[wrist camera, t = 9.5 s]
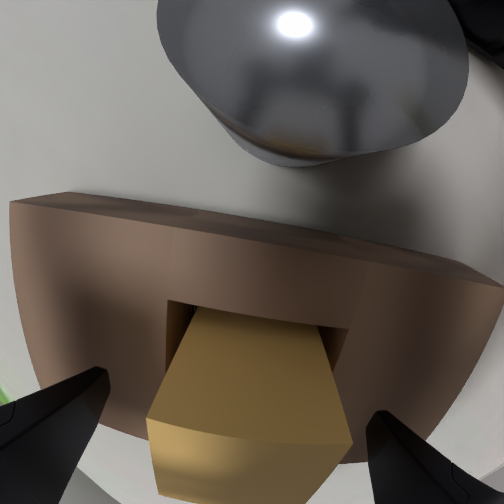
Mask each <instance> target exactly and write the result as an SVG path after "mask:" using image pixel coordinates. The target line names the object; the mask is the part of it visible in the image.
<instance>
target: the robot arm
mask: <svg viewBox="0 0 504 504" xmlns="http://www.w3.org/2000/svg"><path fill="white" fill-rule="evenodd" d="M447 1H448V2H449V4H450V6H451V7H452V9H453V11H454V13H455V14H456V17H457V19H458V21H459V23H460V25H461V28H462V31H463V34H464V37H465V40H466V43H467V44H469V45H470V46H472V47H473V48H475V49H476V50H478V51H479V52H481V53H482V54H483V55H485V56H486V57H488V58H489V59H490V60H492V61H493V62H494V63H496V64H497V65H498V66H499V67H501V68H502V69H503V70H504V0H447ZM110 391H111V385H110V379H109V373H108V370H107V369H105V368H102V367H99V366H94V367H92V368H90V369H88V370H85V371H83V372H81V373H79V374H77V375H74V376H72V377H70V378H67V379H65V380H63V381H61V382H58V383H56V384H54V385H51V386H49V387H47V388H44V389H42V390H39V391H37V392H35V393H32V394H30V395H27V396H25V397H23V398H20V399H18V400H16V401H13V402H10V403H8V404H5V405H2V406H0V504H59V501H60V499H61V497H62V495H63V493H64V490H65V489H66V486H67V484H68V482H69V480H70V478H71V476H72V474H73V472H74V470H75V468H76V466H77V464H78V462H79V460H80V458H81V456H82V454H83V452H84V450H85V448H86V446H87V444H88V442H89V441H90V439H91V437H92V435H93V433H94V431H95V429H96V427H97V425H98V422H99V420H100V417H101V414H102V412H103V409H104V407H105V404H106V401H107V399H108V396H109V394H110ZM366 443H367V456H368V466H369V472H370V478H371V483H372V489H373V495H374V501H375V504H504V493H502V492H499V491H497V490H495V489H493V488H491V487H489V486H488V485H486V484H484V483H482V482H481V481H479V480H477V479H476V478H474V477H473V476H471V475H469V474H468V473H466V472H465V471H464V470H462V469H461V468H459V467H458V466H457V465H455V464H454V463H453V462H452V463H451V461H450V460H449V459H448V458H446V457H445V456H444V455H442V454H441V453H440V452H439V451H437V450H436V449H435V448H433V447H432V446H431V445H430V444H428V443H427V442H426V441H425V440H423V439H422V438H421V437H420V436H418V435H417V434H416V433H415V432H413V431H412V430H411V429H410V428H408V427H407V426H406V425H405V424H404V423H402V422H401V421H400V420H399V419H397V418H396V417H395V416H394V415H393V414H391V413H390V412H389V411H387V410H378V411H376V412H375V413H374V414H373V416H372V418H371V419H370V421H369V422H368V424H367V426H366Z"/></svg>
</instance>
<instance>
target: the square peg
mask: <svg viewBox="0 0 504 504" xmlns="http://www.w3.org/2000/svg"><path fill="white" fill-rule="evenodd" d="M146 423H147V431H148V438H149V445H150V451H151V457H152V463H153V469H154V474H155V479H156V484H157V489H158V493H159V495H163V496H166V497H170V498H174V499H178V500H183V501H187V502H192V503H197V504H305V503H306V502H307V501H308V500H309V499H310V498H311V497H312V495H313V494H314V493H315V492H316V491H317V490H318V489H319V487H320V486H321V485H322V484H323V483H324V481H325V480H326V479H327V478H328V477H329V475H330V474H331V473H332V472H333V470H334V469H335V468H336V466H337V465H338V464H339V463H340V461H341V460H342V459H343V457H344V456H345V454H346V453H347V452H348V450H349V449H350V447H351V446H352V445H353V441H352V438H351V434H350V431H349V427H348V424H347V420H346V417H345V413H344V410H343V407H342V403H341V400H340V397H339V393H338V390H337V387H336V384H335V381H334V377H333V374H332V371H331V368H330V365H329V362H328V358H327V355H326V352H325V349H324V346H323V343H322V340H321V337H320V334H319V331H318V328H317V325H311V324H304V323H297V322H290V321H283V320H276V319H270V318H263V317H257V316H251V315H245V314H239V313H234V312H228V311H223V310H217V309H212V308H207V307H202V306H198V308H197V310H196V312H195V314H194V316H193V318H192V320H191V322H190V324H189V326H188V329H187V331H186V333H185V335H184V337H183V339H182V341H181V343H180V345H179V347H178V349H177V352H176V354H175V356H174V358H173V360H172V362H171V364H170V366H169V369H168V371H167V373H166V375H165V377H164V379H163V381H162V384H161V386H160V388H159V390H158V392H157V394H156V397H155V399H154V401H153V403H152V405H151V408H150V410H149V412H148V414H147V416H146Z"/></svg>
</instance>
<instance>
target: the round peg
mask: <svg viewBox="0 0 504 504" xmlns="http://www.w3.org/2000/svg"><path fill="white" fill-rule="evenodd" d="M157 28H158V32H159V36H160V40H161V44H162V46H163V48H164V50H165V52H166V55H167V57H168V59H169V60H170V62H171V63H172V65H173V66H174V68H175V69H176V70H177V72H178V73H179V75H180V76H181V77H182V78H183V80H184V81H185V82H186V83H187V84H188V85H189V87H190V88H191V89H192V90H193V91H194V92H195V94H196V95H197V96H198V97H199V98H200V100H201V101H202V102H203V103H204V104H205V106H206V107H207V108H208V109H209V110H210V112H211V113H212V114H213V115H214V116H215V118H216V119H217V120H218V121H219V123H220V124H221V125H222V126H223V128H224V129H225V130H226V131H227V133H228V134H229V135H230V136H231V137H232V139H233V140H234V141H235V142H236V143H237V144H238V145H239V146H241V147H242V148H243V149H244V150H246V151H247V152H248V153H250V154H251V155H253V156H255V157H257V158H259V159H261V160H263V161H266V162H268V163H271V164H275V165H279V166H285V167H309V166H314V165H319V164H323V163H327V162H331V161H336V160H340V159H345V158H349V157H354V156H358V155H363V154H368V153H373V152H378V151H383V150H388V149H393V148H399V147H403V146H406V145H408V144H411V143H414V142H417V141H420V140H421V139H423V138H425V137H427V136H429V135H430V134H432V133H434V132H435V131H437V130H438V129H439V128H440V127H441V126H443V125H444V124H445V123H446V122H447V121H448V120H449V119H450V117H451V116H452V115H453V114H454V112H455V111H456V110H457V108H458V106H459V104H460V102H461V100H462V98H463V96H464V92H465V89H466V86H467V81H468V73H469V58H468V51H467V45H466V40H465V37H464V34H463V31H462V28H461V25H460V23H459V21H458V19H457V17H456V14H455V13H454V11H453V9H452V7H451V6H450V4H449V2H448V1H447V0H158V7H157Z"/></svg>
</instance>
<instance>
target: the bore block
mask: <svg viewBox="0 0 504 504" xmlns="http://www.w3.org/2000/svg"><path fill="white" fill-rule="evenodd" d="M9 219H10V245H11V258H12V268H13V277H14V284H15V291H16V297H17V303H18V308H19V314H20V318H21V323H22V327H23V332H24V336H25V340H26V344H27V347H28V351H29V354H30V358H31V361H32V364H33V368H34V371H35V374H36V377H37V380H38V382H39V385H40V388H41V390H42V389H44V388H47V387H49V386H51V385H54V384H56V383H58V382H61V381H63V380H65V379H67V378H70V377H72V376H74V375H77V374H79V373H81V372H83V371H85V370H88V369H90V368H92V367H94V366H99V367H102V368H105V369H107V370H108V373H109V379H110V385H111V391H110V394H109V396H108V399H107V401H106V404H105V407H104V409H103V412H102V414H101V417H100V420H99V422H98V423H100V424H102V425H105V426H107V427H110V428H113V429H115V430H118V431H121V432H124V433H127V434H129V435H132V436H135V437H139V438H142V439H145V440H148V441H149V438H148V431H147V423H146V416H147V414H148V412H149V410H150V408H151V405H152V403H153V401H154V399H155V397H156V394H157V392H158V390H159V388H160V386H161V384H162V381H163V379H164V377H165V375H166V373H167V371H168V369H169V366H170V364H171V362H172V360H173V358H174V356H175V354H176V352H177V349H178V347H179V345H180V343H181V341H182V339H183V337H184V335H185V333H186V331H187V329H188V326H189V324H190V322H191V311H192V305H197V306H202V307H207V308H212V309H217V310H223V311H228V312H234V313H239V314H245V315H251V316H257V317H263V318H270V319H276V320H283V321H290V322H297V323H304V324H311V325H317V328H318V331H319V334H320V337H321V340H322V343H323V346H324V349H325V352H326V355H327V358H328V362H329V365H330V368H331V371H332V374H333V377H334V381H335V384H336V387H337V390H338V393H339V397H340V400H341V403H342V407H343V410H344V413H345V417H346V420H347V424H348V427H349V431H350V434H351V438H352V441H353V445H352V446H351V447H350V449H349V450H348V452H347V453H346V454H345V456H344V457H343V459H342V460H341V461H340V463H339V464H347V463H360V462H368V456H367V443H366V426H367V424H368V422H369V421H370V419H371V418H372V416H373V414H374V413H375V412H376V411H378V410H387V411H389V412H390V413H391V414H393V415H394V416H395V417H396V418H397V419H399V420H400V421H401V422H402V423H404V424H405V425H406V426H407V427H408V428H410V429H411V430H412V431H413V432H415V433H416V434H417V435H418V436H420V437H421V438H422V439H423V440H426V439H427V438H428V437H429V435H430V434H431V433H432V432H433V430H434V429H435V428H436V426H437V425H438V424H439V422H440V421H441V420H442V418H443V417H444V415H445V414H446V413H447V411H448V410H449V408H450V407H451V405H452V404H453V402H454V401H455V399H456V398H457V396H458V394H459V393H460V391H461V390H462V388H463V386H464V385H465V383H466V381H467V380H468V378H469V376H470V374H471V373H472V371H473V369H474V367H475V365H476V364H477V362H478V360H479V358H480V356H481V354H482V352H483V350H484V348H485V346H486V344H487V342H488V340H489V338H490V335H491V333H492V331H493V329H494V326H495V324H496V322H497V319H498V317H499V314H500V312H501V309H502V307H503V304H504V286H502V285H501V284H499V283H497V282H495V281H494V280H492V279H490V278H488V277H487V276H485V275H483V274H481V273H479V272H478V271H476V270H474V269H472V268H470V267H468V266H466V265H465V264H463V263H461V262H458V261H454V260H450V259H446V258H442V257H438V256H433V255H429V254H425V253H421V252H416V251H412V250H408V249H403V248H399V247H394V246H390V245H385V244H381V243H376V242H371V241H367V240H362V239H357V238H352V237H347V236H342V235H338V234H333V233H328V232H322V231H317V230H312V229H307V228H302V227H296V226H291V225H286V224H280V223H275V222H269V221H264V220H258V219H252V218H246V217H241V216H235V215H229V214H223V213H216V212H210V211H204V210H198V209H191V208H185V207H178V206H171V205H164V204H157V203H150V202H143V201H136V200H128V199H121V198H113V197H105V196H97V195H89V194H80V193H71V192H63V193H56V194H50V195H43V196H37V197H31V198H26V199H20V200H15V201H10V207H9Z"/></svg>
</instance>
